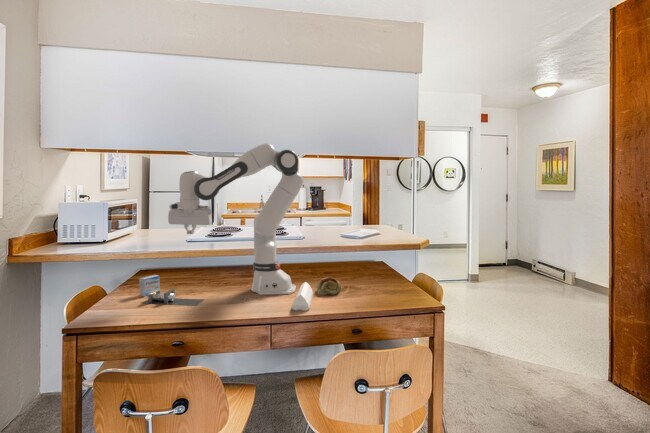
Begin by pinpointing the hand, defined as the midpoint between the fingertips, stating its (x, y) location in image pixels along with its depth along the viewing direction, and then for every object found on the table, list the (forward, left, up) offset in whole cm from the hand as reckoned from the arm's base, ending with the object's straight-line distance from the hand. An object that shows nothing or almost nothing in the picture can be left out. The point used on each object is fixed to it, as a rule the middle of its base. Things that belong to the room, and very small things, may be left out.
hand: (190, 234), depth 172 cm
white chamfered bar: (-56, +8, -30) cm, 64 cm away
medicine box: (+19, +4, -29) cm, 35 cm away
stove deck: (+2, +14, -29) cm, 32 cm away
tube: (+8, +14, -29) cm, 33 cm away
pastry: (-67, -10, -30) cm, 74 cm away
